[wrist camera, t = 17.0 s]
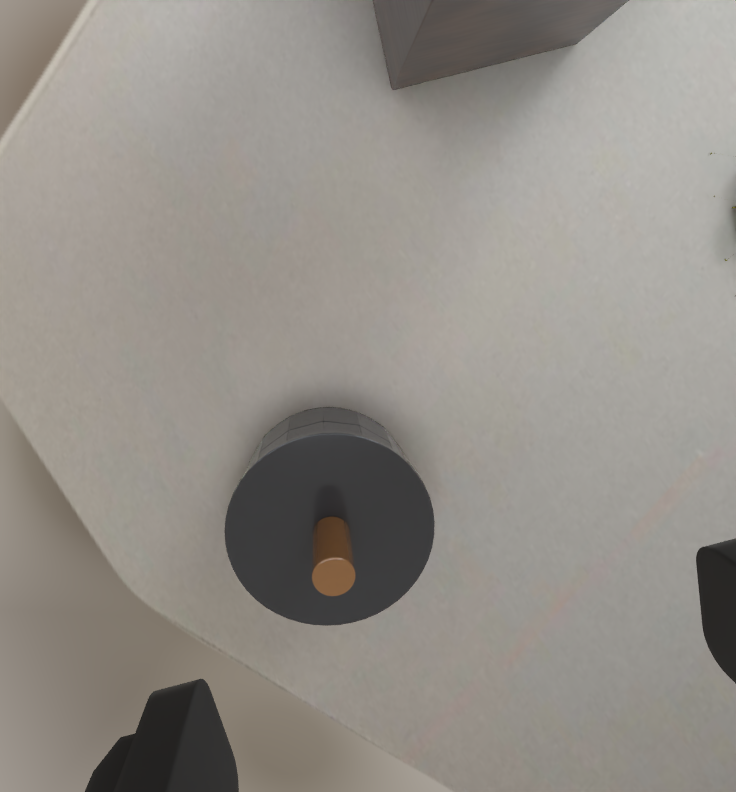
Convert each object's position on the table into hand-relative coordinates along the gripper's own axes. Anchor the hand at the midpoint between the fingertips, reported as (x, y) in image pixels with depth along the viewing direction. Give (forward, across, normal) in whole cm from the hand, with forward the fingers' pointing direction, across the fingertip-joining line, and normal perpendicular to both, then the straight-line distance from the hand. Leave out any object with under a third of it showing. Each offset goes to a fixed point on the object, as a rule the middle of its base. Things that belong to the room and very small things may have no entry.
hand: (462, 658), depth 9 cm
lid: (+24, +4, +9) cm, 25 cm away
